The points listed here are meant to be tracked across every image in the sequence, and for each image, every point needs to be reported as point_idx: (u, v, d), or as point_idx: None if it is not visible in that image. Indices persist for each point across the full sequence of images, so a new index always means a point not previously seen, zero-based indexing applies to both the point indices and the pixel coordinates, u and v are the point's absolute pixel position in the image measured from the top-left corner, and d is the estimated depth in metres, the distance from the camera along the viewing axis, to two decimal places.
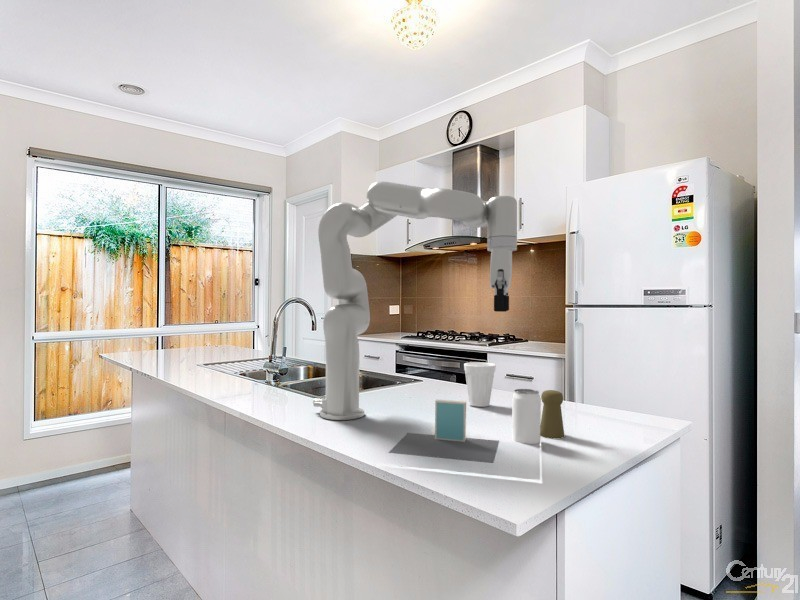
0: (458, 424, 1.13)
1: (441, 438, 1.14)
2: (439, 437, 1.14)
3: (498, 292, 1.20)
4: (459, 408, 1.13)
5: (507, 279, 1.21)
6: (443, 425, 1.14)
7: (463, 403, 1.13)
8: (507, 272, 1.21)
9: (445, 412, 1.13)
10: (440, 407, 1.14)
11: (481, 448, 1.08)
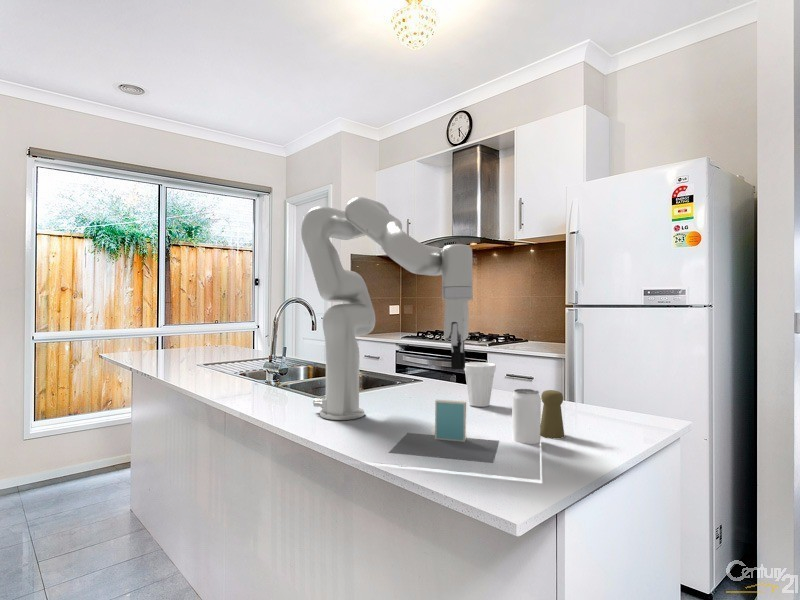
0: (458, 424, 1.13)
1: (441, 438, 1.14)
2: (439, 437, 1.14)
3: (455, 350, 1.19)
4: (459, 408, 1.13)
5: (461, 332, 1.16)
6: (443, 425, 1.14)
7: (463, 403, 1.13)
8: (461, 325, 1.16)
9: (445, 412, 1.13)
10: (440, 407, 1.14)
11: (481, 448, 1.08)
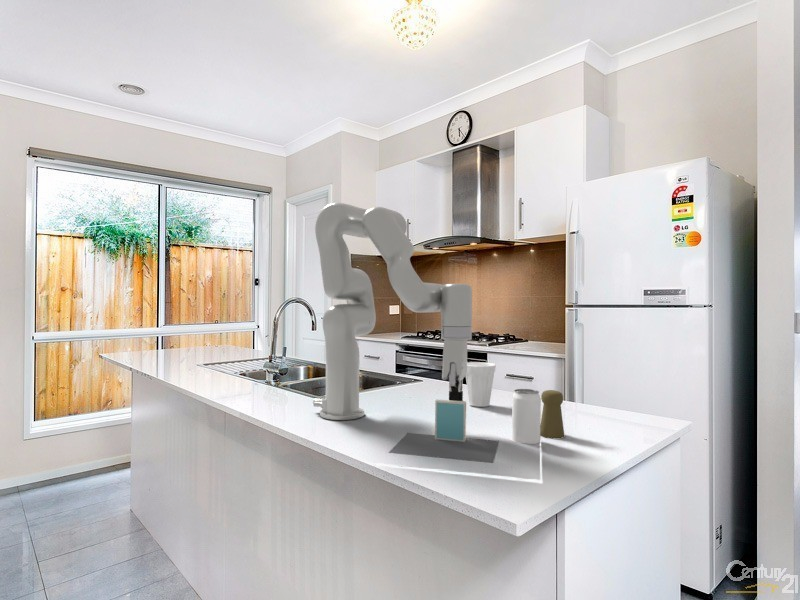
0: (458, 424, 1.13)
1: (441, 438, 1.14)
2: (439, 437, 1.14)
3: (452, 389, 1.19)
4: (459, 408, 1.13)
5: (459, 373, 1.16)
6: (443, 425, 1.14)
7: (463, 403, 1.13)
8: (459, 366, 1.16)
9: (445, 412, 1.13)
10: (440, 407, 1.14)
11: (481, 448, 1.08)
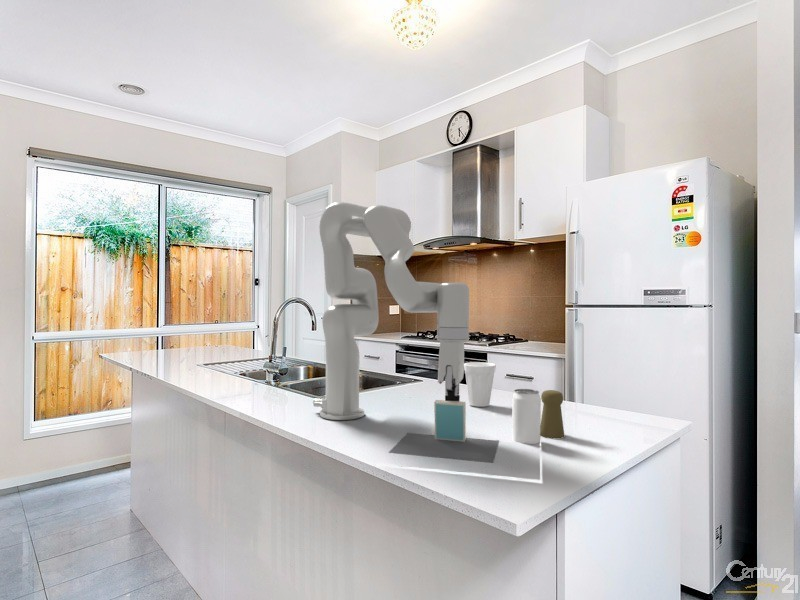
0: (458, 424, 1.12)
1: (441, 438, 1.14)
2: (439, 437, 1.14)
3: (449, 393, 1.14)
4: (458, 409, 1.12)
5: (456, 376, 1.11)
6: (443, 426, 1.13)
7: (462, 404, 1.11)
8: (456, 369, 1.11)
9: (445, 413, 1.13)
10: (439, 408, 1.13)
11: (481, 448, 1.08)
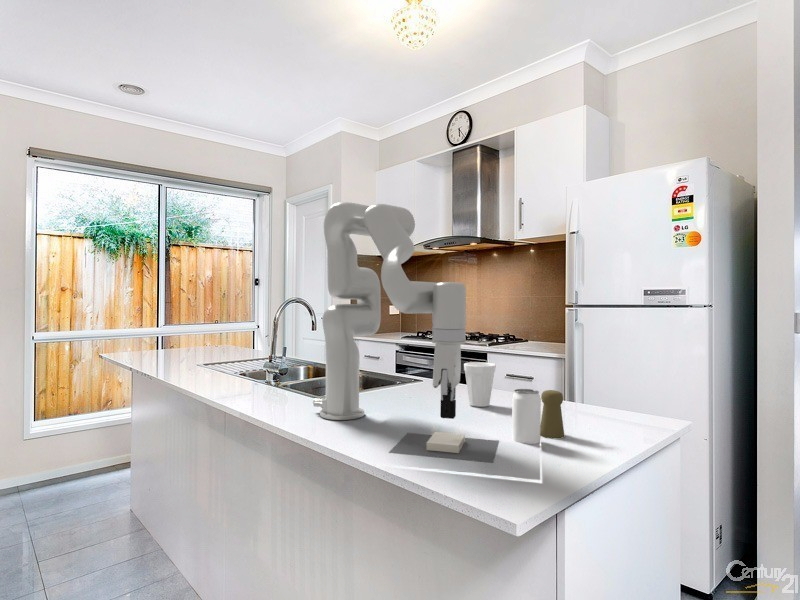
0: None
1: None
2: None
3: (444, 398, 1.09)
4: None
5: (452, 380, 1.06)
6: None
7: (456, 452, 1.04)
8: (452, 372, 1.06)
9: None
10: None
11: (481, 448, 1.08)
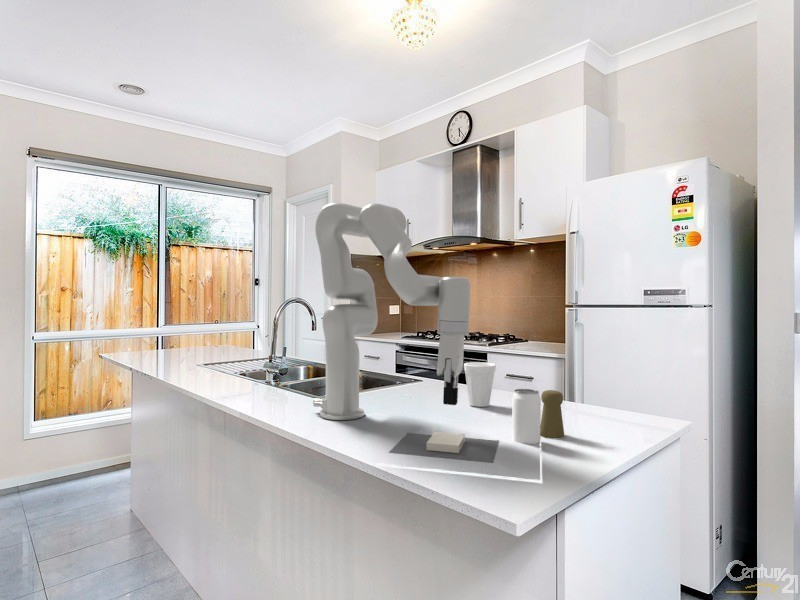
0: None
1: None
2: None
3: (447, 386, 1.16)
4: None
5: (455, 369, 1.13)
6: None
7: (456, 452, 1.04)
8: (455, 362, 1.13)
9: None
10: None
11: (481, 448, 1.08)
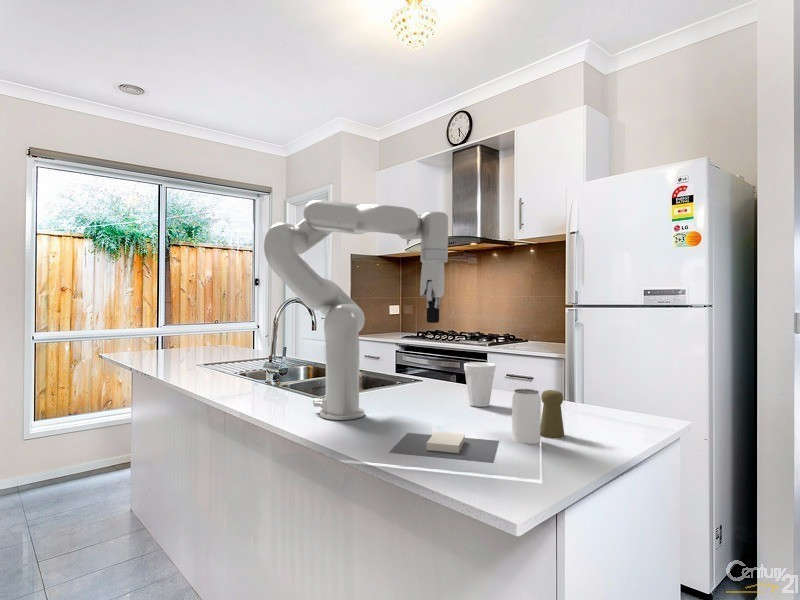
0: None
1: None
2: None
3: (429, 305, 1.35)
4: None
5: (435, 289, 1.31)
6: None
7: (456, 452, 1.04)
8: (435, 282, 1.31)
9: None
10: None
11: (481, 448, 1.08)
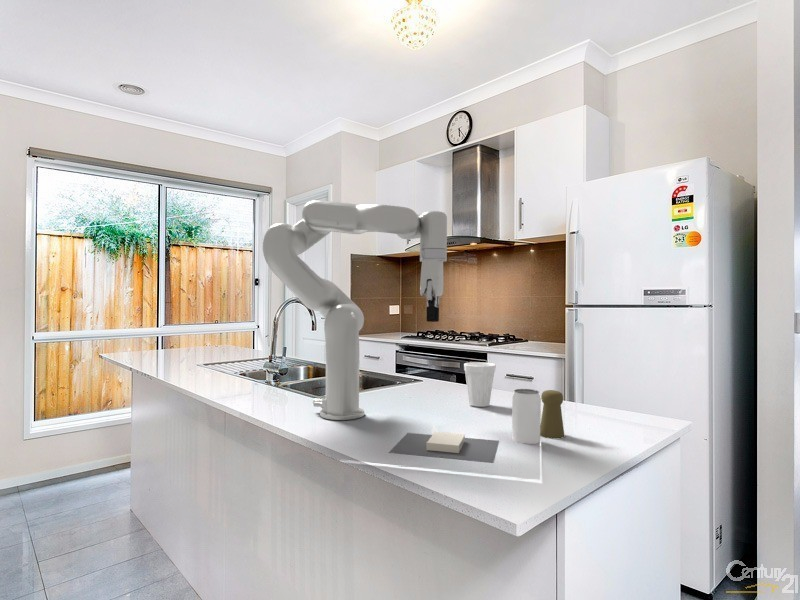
0: None
1: None
2: None
3: (429, 304, 1.35)
4: None
5: (435, 288, 1.32)
6: None
7: (456, 452, 1.04)
8: (435, 281, 1.32)
9: None
10: None
11: (481, 448, 1.08)
